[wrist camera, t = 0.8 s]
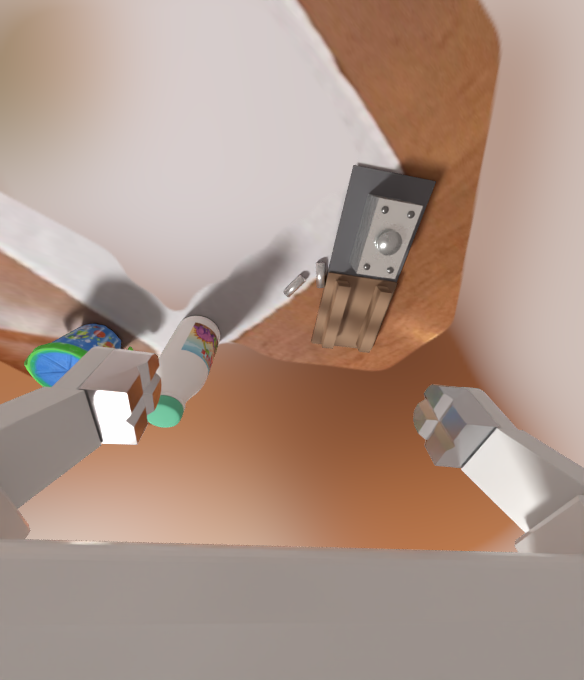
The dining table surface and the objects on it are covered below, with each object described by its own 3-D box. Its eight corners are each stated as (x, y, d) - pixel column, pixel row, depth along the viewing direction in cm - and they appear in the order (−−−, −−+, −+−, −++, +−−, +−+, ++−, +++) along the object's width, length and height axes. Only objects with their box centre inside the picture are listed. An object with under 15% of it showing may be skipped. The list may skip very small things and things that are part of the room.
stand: (328, 271, 45) (331, 278, 42) (396, 281, 47) (403, 288, 44) (311, 340, 53) (313, 351, 50) (370, 347, 54) (375, 357, 51)
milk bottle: (187, 351, 53) (145, 440, 36) (171, 317, 49) (116, 399, 32) (225, 346, 53) (201, 432, 36) (213, 311, 48) (179, 390, 32)
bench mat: (353, 165, 37) (354, 165, 37) (434, 181, 39) (436, 181, 38) (326, 276, 46) (326, 277, 45) (393, 286, 47) (394, 287, 47)
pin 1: (307, 281, 46) (302, 275, 46) (303, 280, 44) (298, 273, 45) (290, 297, 47) (286, 291, 48) (286, 296, 46) (282, 290, 46)
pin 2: (314, 262, 44) (318, 265, 43) (322, 261, 45) (326, 263, 44) (315, 285, 47) (318, 288, 45) (322, 284, 47) (326, 287, 46)
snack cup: (64, 357, 53) (22, 395, 44) (45, 309, 47) (-6, 342, 39) (148, 365, 55) (124, 403, 46) (141, 319, 49) (112, 353, 40)
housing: (368, 193, 39) (381, 198, 34) (407, 201, 40) (426, 207, 35) (349, 262, 44) (358, 275, 39) (384, 267, 45) (397, 281, 40)
